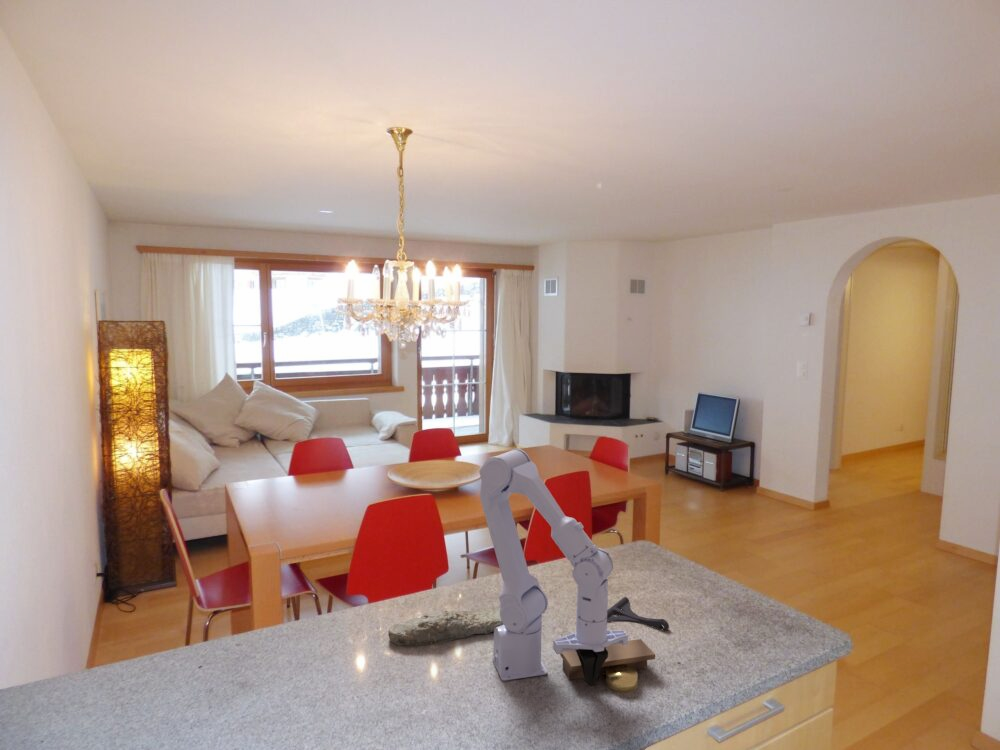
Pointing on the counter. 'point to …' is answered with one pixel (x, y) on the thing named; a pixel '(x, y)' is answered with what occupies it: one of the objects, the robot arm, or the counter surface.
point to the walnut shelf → (611, 658)
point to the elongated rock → (445, 626)
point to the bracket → (632, 615)
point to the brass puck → (621, 678)
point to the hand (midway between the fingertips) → (589, 683)
